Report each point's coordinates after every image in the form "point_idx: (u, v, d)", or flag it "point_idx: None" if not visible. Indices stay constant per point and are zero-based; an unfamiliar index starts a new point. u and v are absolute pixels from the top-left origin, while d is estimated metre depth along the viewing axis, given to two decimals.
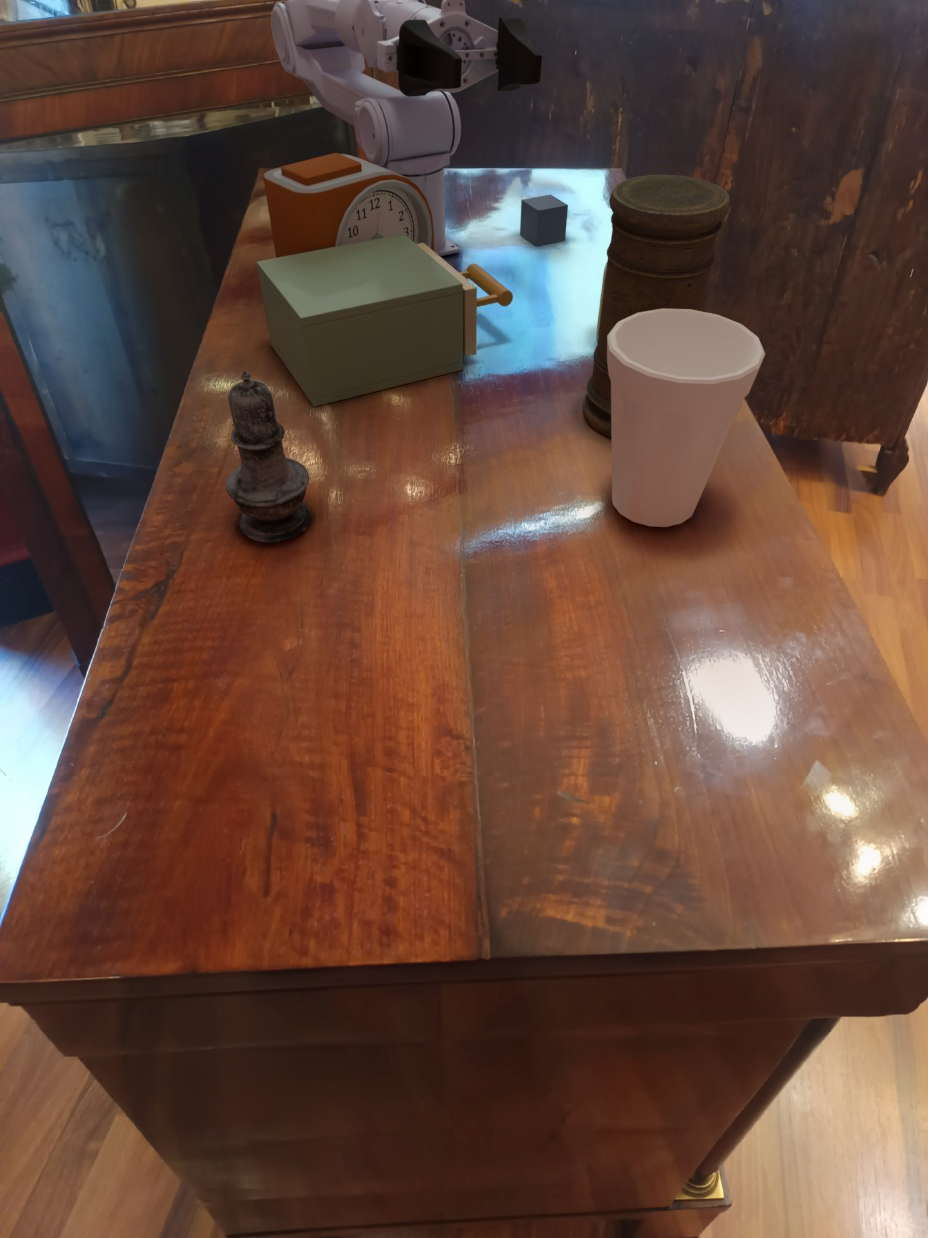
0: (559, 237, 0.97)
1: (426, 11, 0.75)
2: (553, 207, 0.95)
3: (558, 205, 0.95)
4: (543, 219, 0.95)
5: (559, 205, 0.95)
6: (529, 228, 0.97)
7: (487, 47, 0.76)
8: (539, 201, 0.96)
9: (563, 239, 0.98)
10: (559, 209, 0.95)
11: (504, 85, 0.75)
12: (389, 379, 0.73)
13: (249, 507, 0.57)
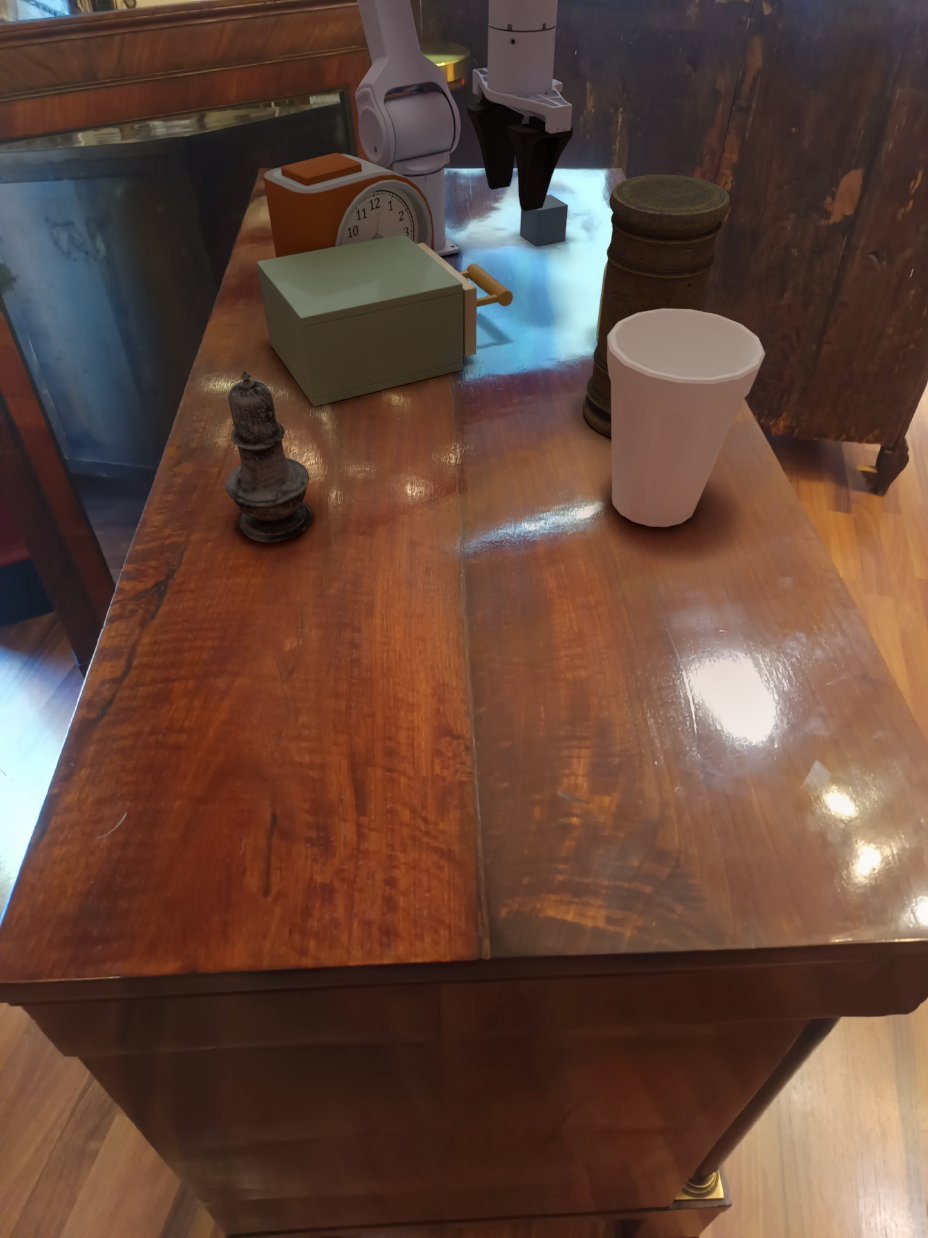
0: (559, 237, 0.97)
1: None
2: (553, 207, 0.95)
3: (558, 205, 0.95)
4: (543, 219, 0.95)
5: (559, 205, 0.95)
6: (529, 228, 0.97)
7: None
8: None
9: (563, 239, 0.98)
10: (559, 209, 0.95)
11: (481, 129, 0.76)
12: (389, 379, 0.73)
13: (249, 507, 0.57)
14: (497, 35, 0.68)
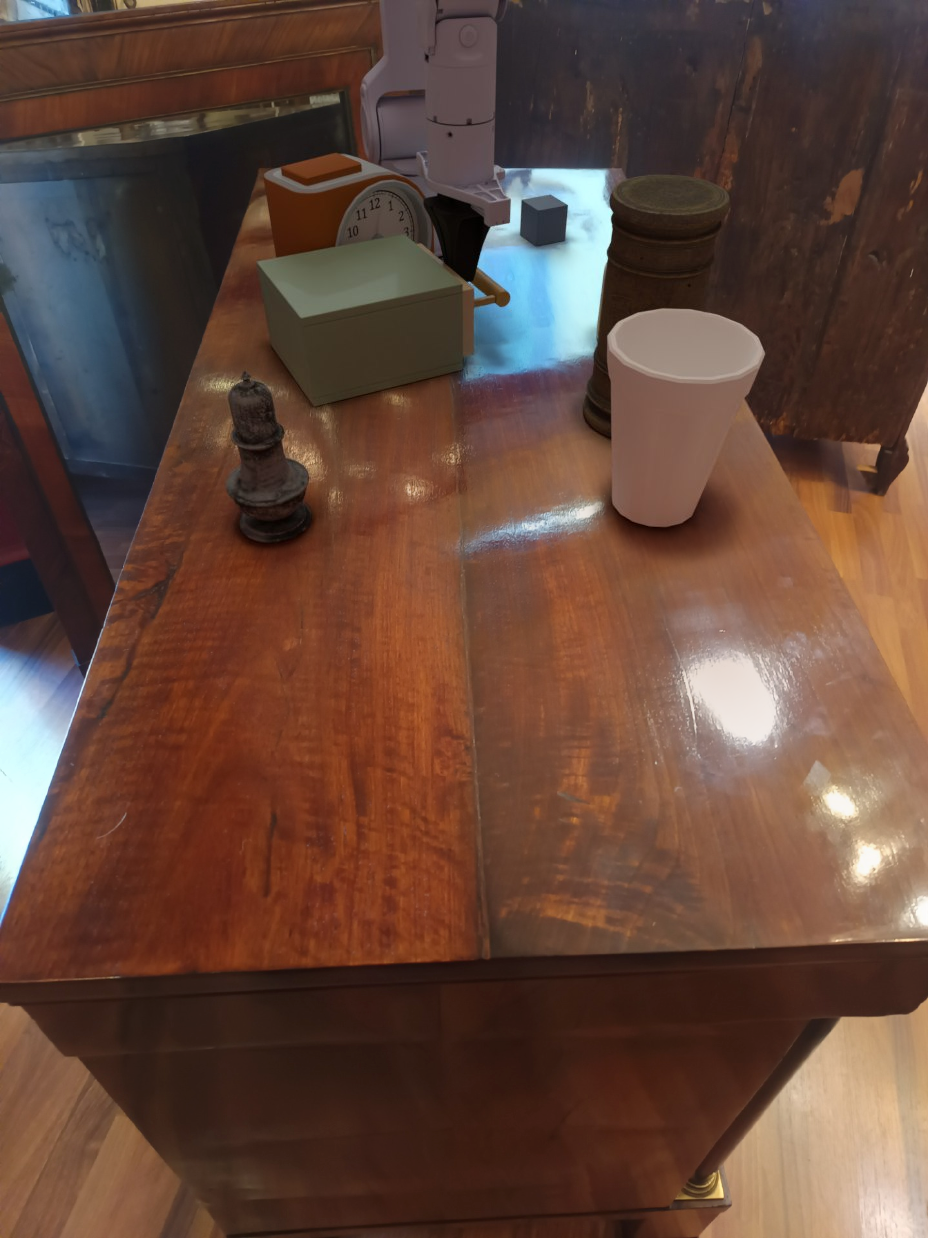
0: (559, 237, 0.97)
1: None
2: (553, 207, 0.95)
3: (558, 205, 0.95)
4: (543, 219, 0.95)
5: (559, 205, 0.95)
6: (529, 228, 0.97)
7: None
8: (539, 201, 0.96)
9: (563, 239, 0.98)
10: (559, 209, 0.95)
11: (438, 223, 0.73)
12: (389, 379, 0.73)
13: (249, 507, 0.57)
14: (434, 128, 0.67)
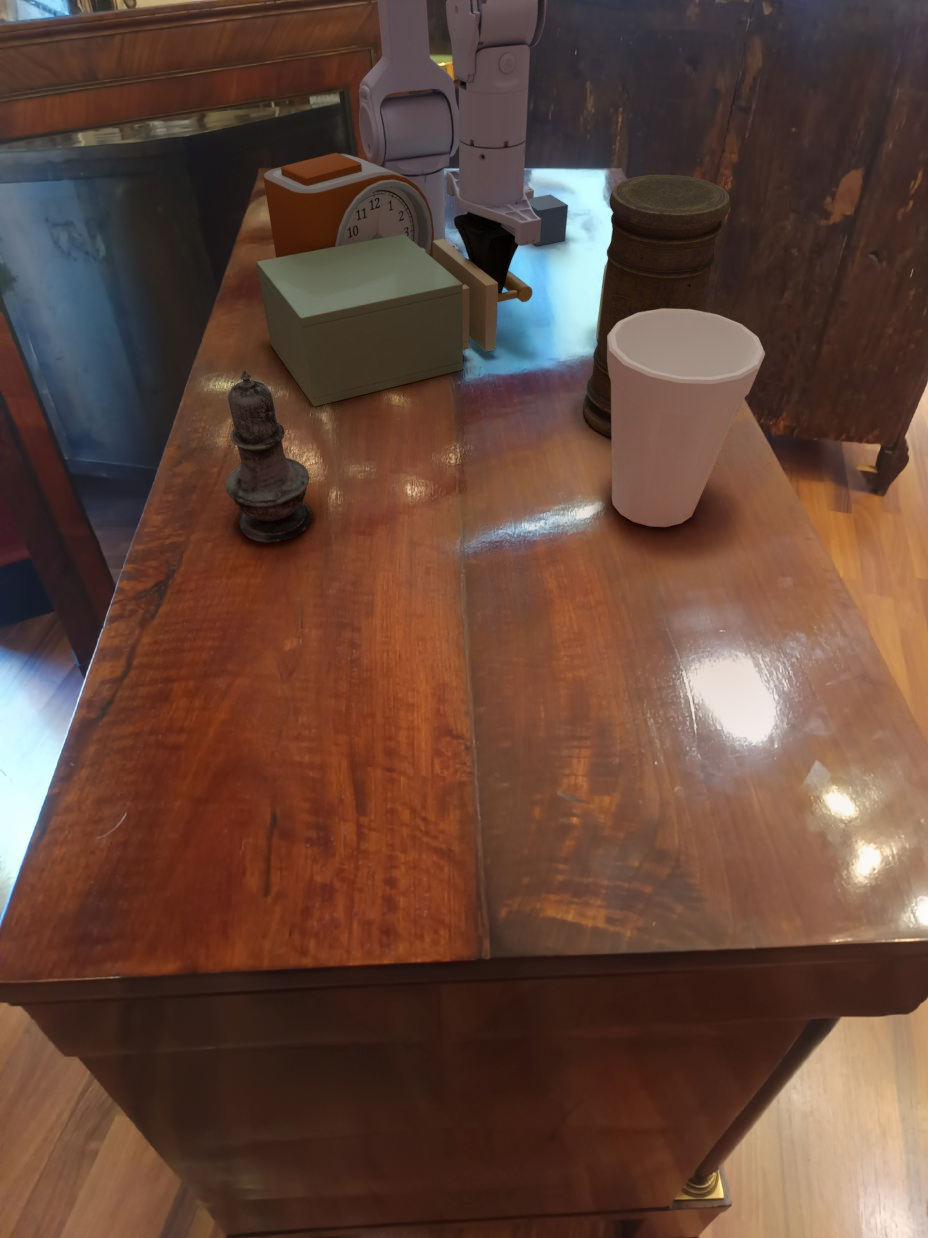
0: (559, 237, 0.97)
1: None
2: (553, 207, 0.95)
3: (558, 205, 0.95)
4: (543, 219, 0.95)
5: (559, 205, 0.95)
6: None
7: None
8: (539, 201, 0.96)
9: (563, 239, 0.98)
10: (559, 209, 0.95)
11: (468, 241, 0.75)
12: (389, 379, 0.73)
13: (249, 507, 0.57)
14: (467, 150, 0.69)
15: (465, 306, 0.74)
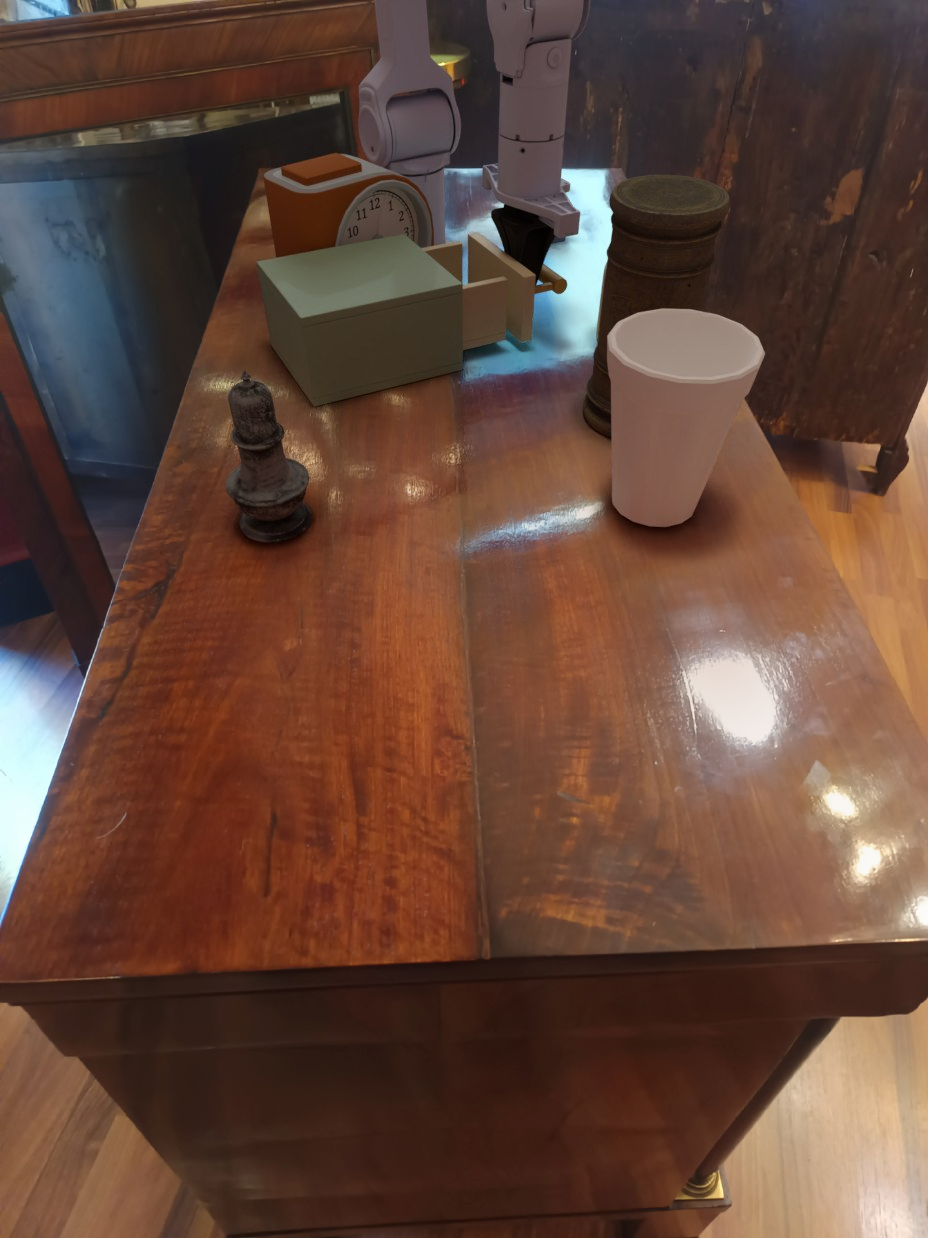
0: None
1: None
2: None
3: None
4: None
5: None
6: None
7: None
8: None
9: (563, 239, 0.98)
10: None
11: (505, 234, 0.77)
12: (389, 379, 0.73)
13: (249, 507, 0.57)
14: (507, 144, 0.70)
15: (503, 298, 0.75)
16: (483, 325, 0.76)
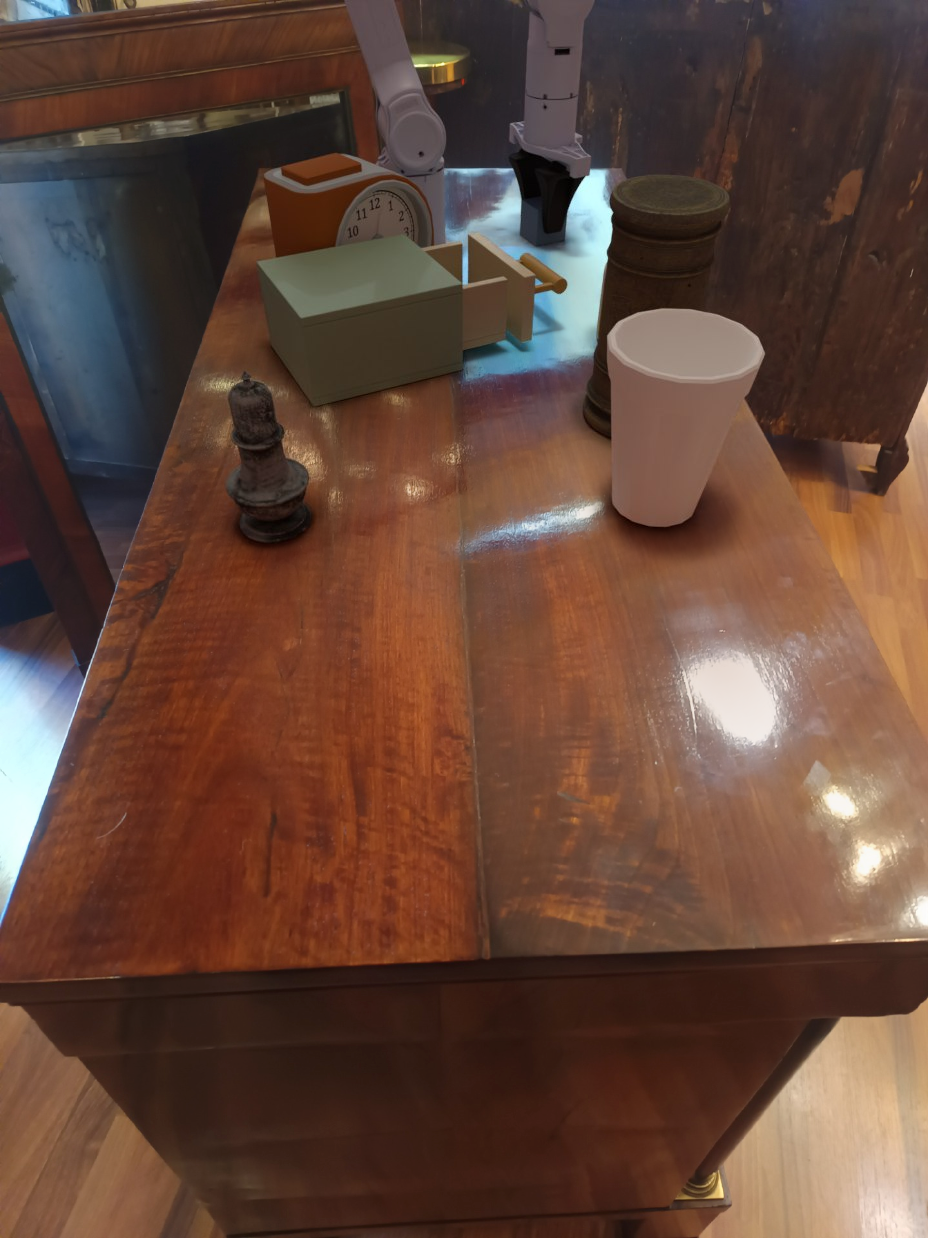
0: (559, 237, 0.97)
1: None
2: None
3: None
4: None
5: None
6: (529, 227, 0.97)
7: None
8: (538, 201, 0.96)
9: (563, 239, 0.98)
10: None
11: (520, 173, 0.95)
12: (389, 379, 0.73)
13: (249, 507, 0.57)
14: (532, 102, 0.87)
15: (503, 298, 0.75)
16: (483, 325, 0.76)
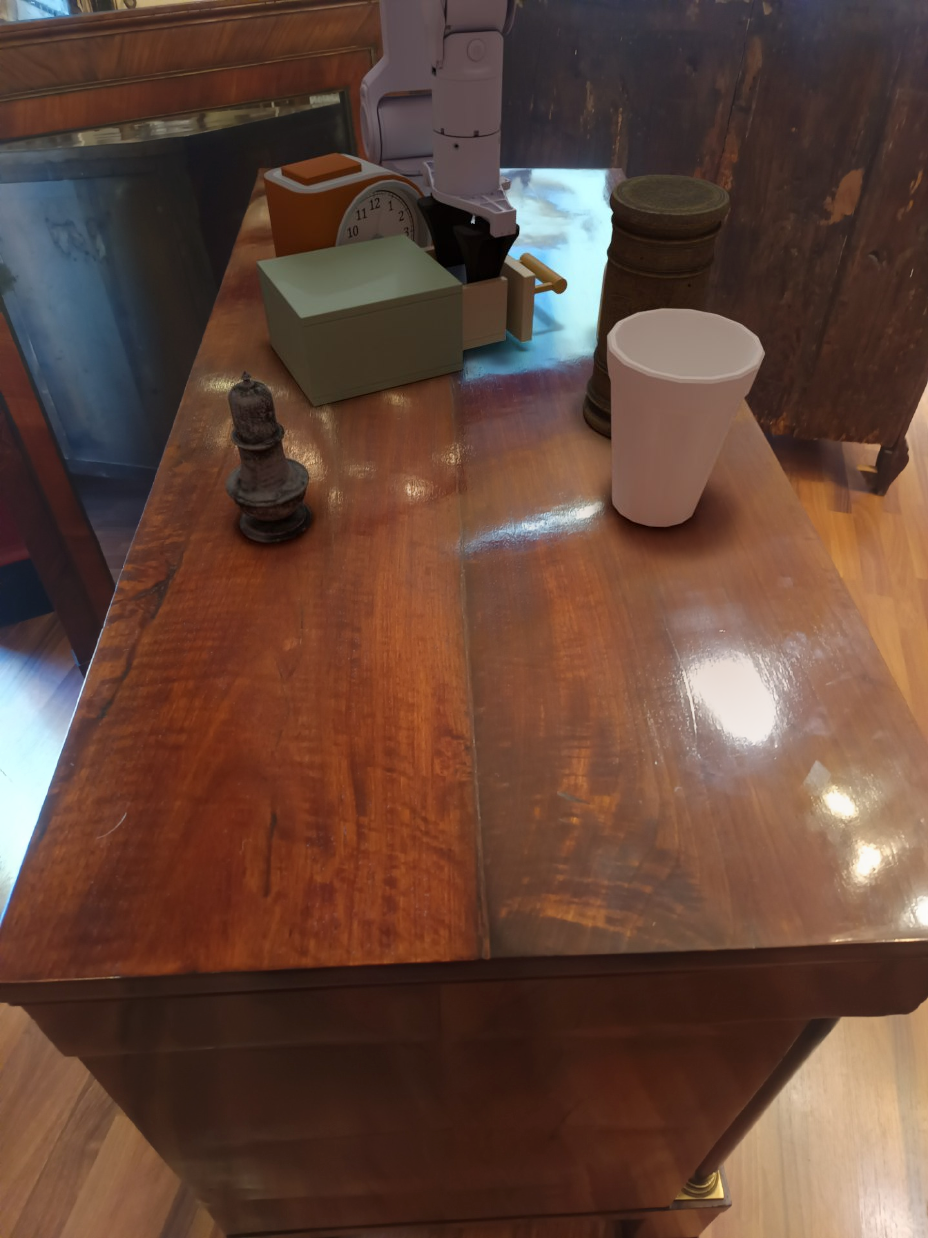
0: None
1: None
2: None
3: None
4: None
5: None
6: None
7: None
8: (460, 272, 0.77)
9: None
10: None
11: (431, 223, 0.76)
12: (389, 379, 0.73)
13: (249, 507, 0.57)
14: (441, 140, 0.67)
15: (503, 298, 0.75)
16: (483, 325, 0.76)
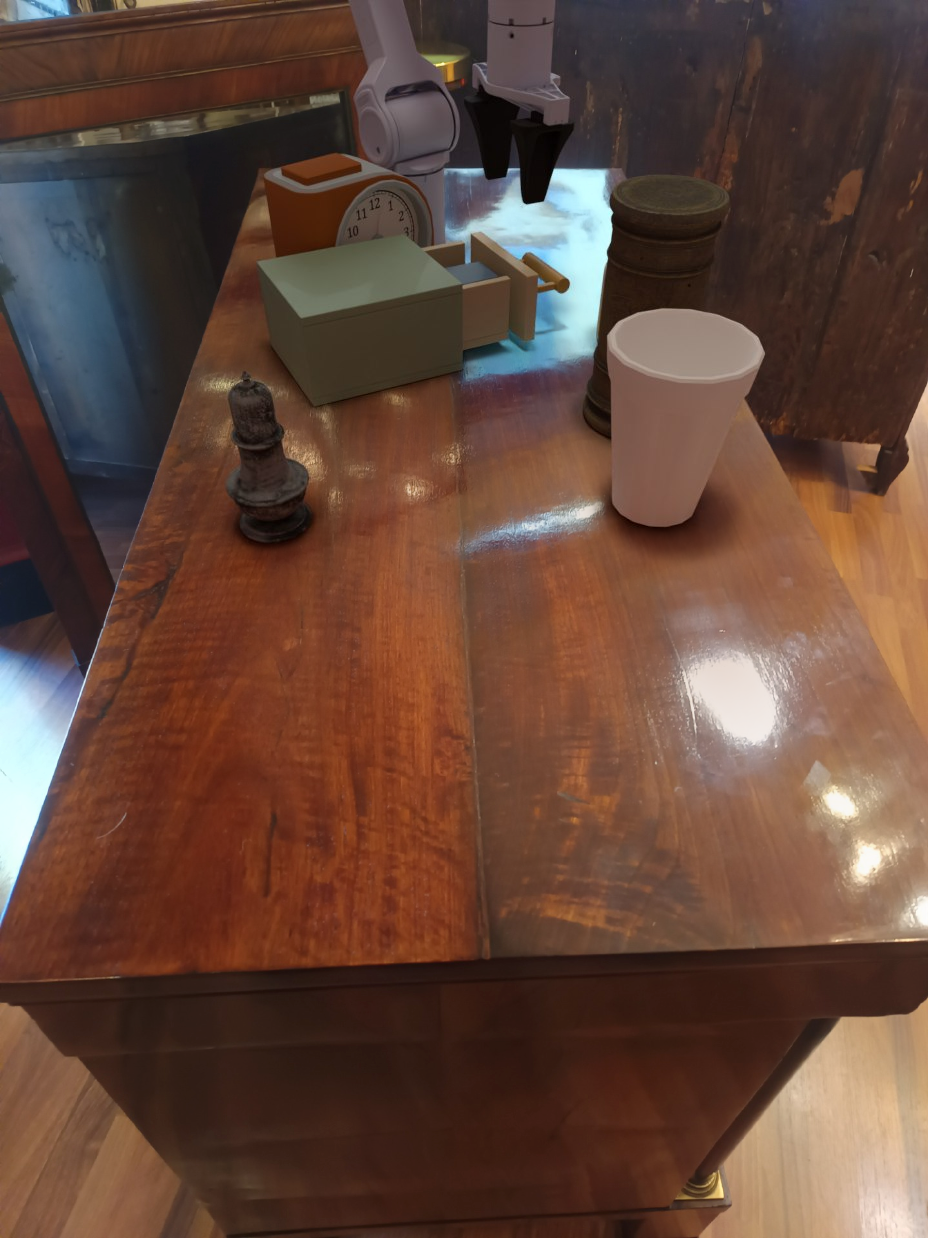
0: None
1: None
2: (480, 279, 0.76)
3: (487, 277, 0.76)
4: None
5: (488, 277, 0.76)
6: None
7: None
8: (463, 271, 0.77)
9: None
10: None
11: (478, 120, 0.78)
12: (389, 379, 0.73)
13: (249, 507, 0.57)
14: (496, 30, 0.70)
15: (506, 297, 0.75)
16: (486, 324, 0.76)
